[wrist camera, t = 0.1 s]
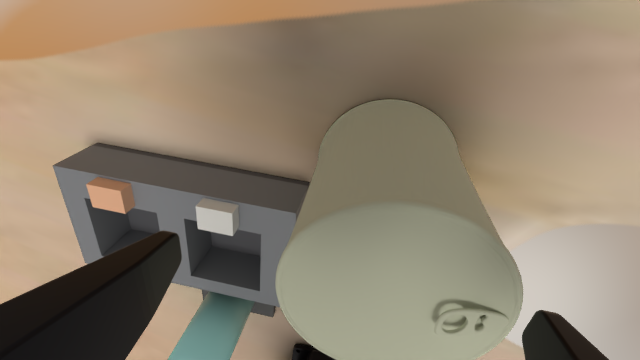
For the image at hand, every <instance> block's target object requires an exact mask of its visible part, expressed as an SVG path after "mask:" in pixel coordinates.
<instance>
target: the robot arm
mask: <svg viewBox="0 0 640 360" xmlns="http://www.w3.org/2000/svg"><path fill="white" fill-rule="evenodd" d="M181 260H182V254H181V246H180V239H179V235H178V234H177V233H174V232H170V231H164V230H163V231H159V232H157V233H155V234H153V235H150V236H148V237H146V238H144V239H142V240H139V241H137V242H135V243H133V244H131V245H129V246H126V247H124V248H122V249H120V250H118V251H115V252H113V253H111V254H109V255H107V256H105V257H102V258H100V259H98V260H96V261H94V262H92V263H89V264H87V265H85V266H83V267H81V268H78V269H76V270H74V271H72V272H70V273H68V274H65V275H63V276H61V277H59V278H57V279H54V280H52V281H50V282H48V283H46V284H44V285H41V286H39V287H37V288H35V289H33V290H30V291H28V292H26V293H24V294H22V295H20V296H17V297H15V298H13V299H11V300H9V301H6V302H4V303H2V304H0V360H125V359H126V357H127V356H128V354H129V353H130V351H131V350H132V348H133V347H134V345H135V344H136V342H137V341H138V339H139V338H140V336H141V335H142V333H143V332H144V330H145V329H146V327H147V325H148V324H149V322H150V321H151V319H152V317H153V316H154V314H155V312H156V310H157V308H158V306H159V305H160V303H161V301H162V299H163V297H164V295H165V293H166V291H167V289H168V287H169V285H170V283H171V281H172V279H173V278H174V276H175V274H176V272H177V270H178V268H179V266H180V264H181ZM522 343H523V348H524V354H525V360H609V359H608V358H607V357H605V356H604V355H603V354H602V353H601V352H600V351H599V350H598V349H597V348H596V347H595V346H594V345H592V344H591V343H590V342H589V341H588V340H587V339H586V338H585V337H584V336H583V335H581V334H580V333H579V332H578V331H577V330H576V329H575V328H574V327H573V326H572V325H571V324H570V323H568V322H567V321H566V320H565V319H564V318H563V317H562V316H561V315H559V314H557V313H553V312H549V311H544V310H539V311H537V312H536V313H535V314H534V316H533V317H532V319H531V320H530V322H529V323H528V325H527V327H526V328H525V330H524V332H523V335H522ZM292 360H336V359H334V358H332V357H330V356H328V355H326V354H324V353H323V352H321V351H319V350H318V349H316V348H313V347H308V346H304V345H300V344H296V345H295V346H294V349H293V356H292Z"/></svg>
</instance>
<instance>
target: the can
mask: <svg viewBox="0 0 640 360" xmlns="http://www.w3.org/2000/svg"><path fill="white" fill-rule="evenodd" d="M275 286H276V294H277V298H278V301H279V305H280V307H281V309H282V312H283V314H284V315H285V317H286V319H287V320H288V322H289V323H290V325H291V326H292V327H293V328H294V330H295V331H296V332H297V333H298V334H299V335H300V336H301V337H302V338H303V339H305V340H306V341H307V342H308V343H309V344H311V345H312V346H313V347H315V348H316V349H318V350H319V351H321V352H323V353H324V354H326V355H328V356H330V357H332V358H334V359H336V360H475V359H477V358H479V357H481V356H482V355H484V354H486V353H488V352H489V351H490V350H492V349H493V348H494V347H496V346H497V345H498V344H499V343H500V342H501V341H502V340H503V339H504V338H505V337H506V336H507V335H508V333H509V332H510V331H511V329H512V328H513V326H514V325H515V323H516V321H517V319H518V316H519V314H520V311H521V306H522V302H523V285H522V280H521V275H520V272H519V270H518V267H517V265H516V262H515V261H514V259H513V257H512V256H511V254H510V252H509V251H508V249H507V248H506V247H505V246H504V244H503V242H502V241H501V239H500V237H499V235H498V233H497V231H496V229H495V227H494V225H493V223H492V221H491V219H490V217H489V215H488V213H487V211H486V209H485V208H484V206H483V204H482V202H481V200H480V198H479V195H478V193H477V191H476V189H475V187H474V185H473V183H472V181H471V179H470V177H469V175H468V173H467V171H466V169H465V167H464V165H463V163H462V160H461V158H460V156H459V152H458V147H457V143H456V141H455V139H454V136H453V134H452V132H451V131H450V129H449V128H448V126H447V125H446V124H445V123H444V122H443V121H442V120H441V119H440V118H439V117H438V116H437V115H436V114H434V113H433V112H432V111H430V110H428V109H427V108H425V107H423V106H420V105H418V104H415V103H412V102H408V101H403V100H395V99H385V100H376V101H372V102H367V103H364V104H362V105H359V106H357V107H355V108H353V109H351V110H349V111H348V112H346V113H345V114H343V115H342V116H341V117H340V118H339V119H337V120H336V121H335V122H334V124H333V125H332V126H331V127H330V128H329V130H328V131H327V133H326V134H325V136H324V138H323V141H322V143H321V146H320V149H319V154H318V162H317V165H316V168H315V171H314V174H313V177H312V180H311V183H310V186H309V188H308V191H307V194H306V197H305V199H304V202H303V205H302V208H301V211H300V213H299V216H298V219H297V221H296V224H295V226H294V229H293V232H292V234H291V237H290V239H289V242H288V244H287V246H286V248H285V250H284V251H283V253H282V255H281V258H280V260H279V263H278V266H277V271H276V280H275Z"/></svg>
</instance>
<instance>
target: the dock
mask: <svg viewBox="0 0 640 360" xmlns="http://www.w3.org/2000/svg"><path fill="white" fill-rule="evenodd" d="M53 168H54V171H55V174H56V177H57V180H58V183H59V186H60V189H61V192H62V195H63V198H64V201H65V204H66V207H67V210H68V213H69V216H70V219H71V222H72V225H73V228H74V231H75V234H76V237H77V240H78V243H79V245H80V248H81V251H82V254H83V257H84V260H85V263H88V264H89V263H92V262H94V261H96V260H98V259H100V258H102V257H105V256H107V255H109V254H111V253H113V252H115V251H118V250H120V249H122V248H124V247H126V246H129V245H131V244H133V243H135V242H137V241H139V240H142V239H144V238H146V237H148V236H150V235H153V234H155V233H157V232H159V231H163V230H164V231H170V232H174V233H177V234H178V235H179V239H180V246H181V254H182V260H181V264H180V266H179V268H178V270H177V272H176V274H175V276H174V278H173V279H172V281H171V283H176V284H180V285H185V286H189V287H193V288H198V289H202V290H207V291H211V292H215V293H220V294H224V295H229V296H233V297H237V298H242V299H246V300H251V301H255V302H259V303H264V304H268V305H273V306H277V307H280V305H279V301H278V298H277V294H276V286H275V280H276V271H277V266H278V263H279V260H280V258H281V255H282V253H283V251H284V250H285V248H286V246H287V244H288V242H289V239H290V237H291V234H292V232H293V229H294V226H295V224H296V221H297V219H298V216H299V213H300V211H301V208H302V205H303V202H304V199H305V197H306V194H307V191H308V188H309V182H304V181H299V180H294V179H288V178H283V177H278V176H272V175H267V174H262V173H256V172H251V171H246V170H240V169H235V168H229V167H224V166H219V165H213V164H208V163H203V162H197V161H192V160H187V159H181V158H176V157H170V156H165V155H160V154H154V153H149V152H144V151H138V150H133V149H128V148H122V147H117V146H111V145H106V144H101V143H96V144H94V145H92V146H90V147H88V148H86V149H84V150H82V151H80V152H78V153H76V154H74V155H72V156H70V157H68V158H66V159H64V160H63V161H61V162H59V163H57V164H55V165H53Z"/></svg>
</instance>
